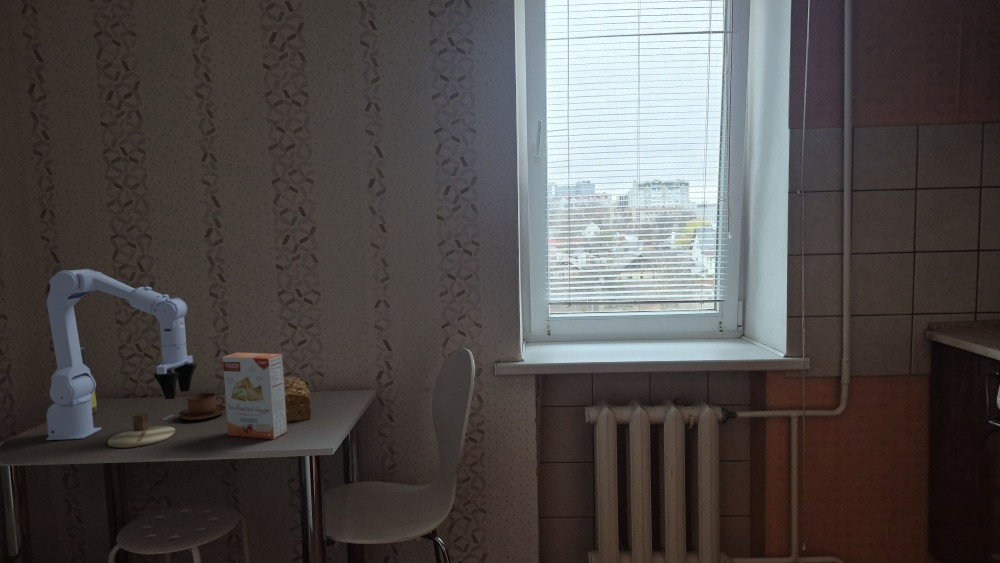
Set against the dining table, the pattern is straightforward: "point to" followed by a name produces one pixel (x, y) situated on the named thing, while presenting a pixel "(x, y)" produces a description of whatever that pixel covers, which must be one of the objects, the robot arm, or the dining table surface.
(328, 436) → the dining table surface
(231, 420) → the cracker box
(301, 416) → the bread
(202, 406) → the cup and saucer
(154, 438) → the cream disc with block
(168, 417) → the tape mark left
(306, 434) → the dining table surface
